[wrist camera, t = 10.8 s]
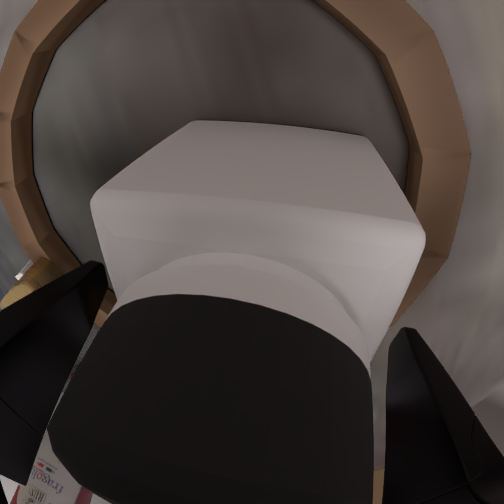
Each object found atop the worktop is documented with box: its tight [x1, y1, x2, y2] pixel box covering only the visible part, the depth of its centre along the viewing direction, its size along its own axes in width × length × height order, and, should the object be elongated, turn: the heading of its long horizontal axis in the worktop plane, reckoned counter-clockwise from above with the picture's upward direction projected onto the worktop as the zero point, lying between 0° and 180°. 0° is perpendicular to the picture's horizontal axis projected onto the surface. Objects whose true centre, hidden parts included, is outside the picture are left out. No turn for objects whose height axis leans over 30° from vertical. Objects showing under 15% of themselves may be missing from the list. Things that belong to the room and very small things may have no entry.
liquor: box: [10, 373, 93, 504], centre depth 17 cm, size 7×7×28 cm
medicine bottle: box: [47, 120, 426, 504], centre depth 8 cm, size 7×7×12 cm
